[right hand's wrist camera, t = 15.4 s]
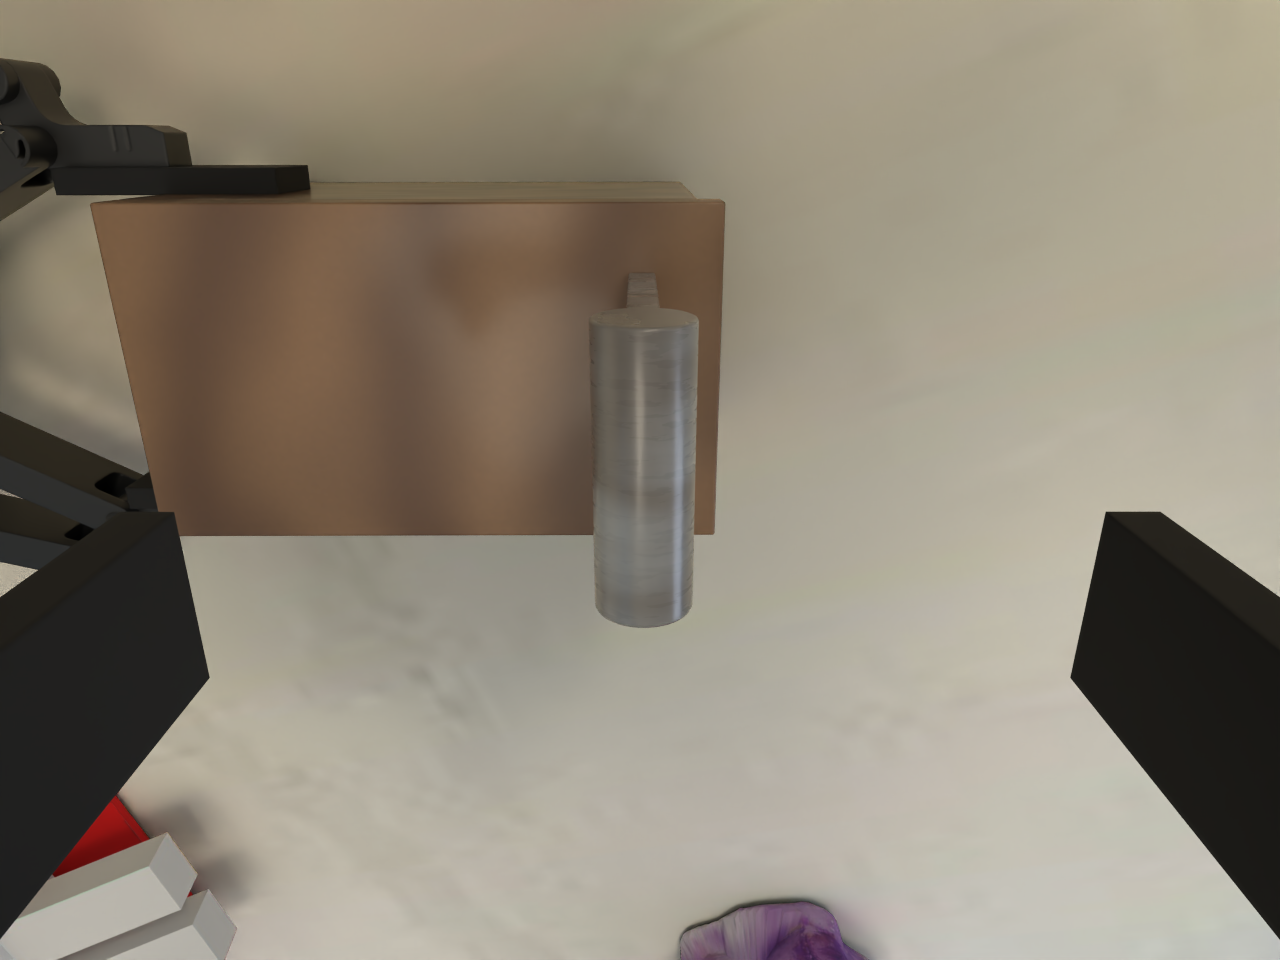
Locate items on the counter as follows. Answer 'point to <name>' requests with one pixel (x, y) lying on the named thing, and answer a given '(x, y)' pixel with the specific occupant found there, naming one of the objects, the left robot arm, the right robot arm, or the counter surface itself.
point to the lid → (432, 372)
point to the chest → (459, 191)
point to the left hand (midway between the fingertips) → (315, 341)
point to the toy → (120, 902)
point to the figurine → (769, 935)
